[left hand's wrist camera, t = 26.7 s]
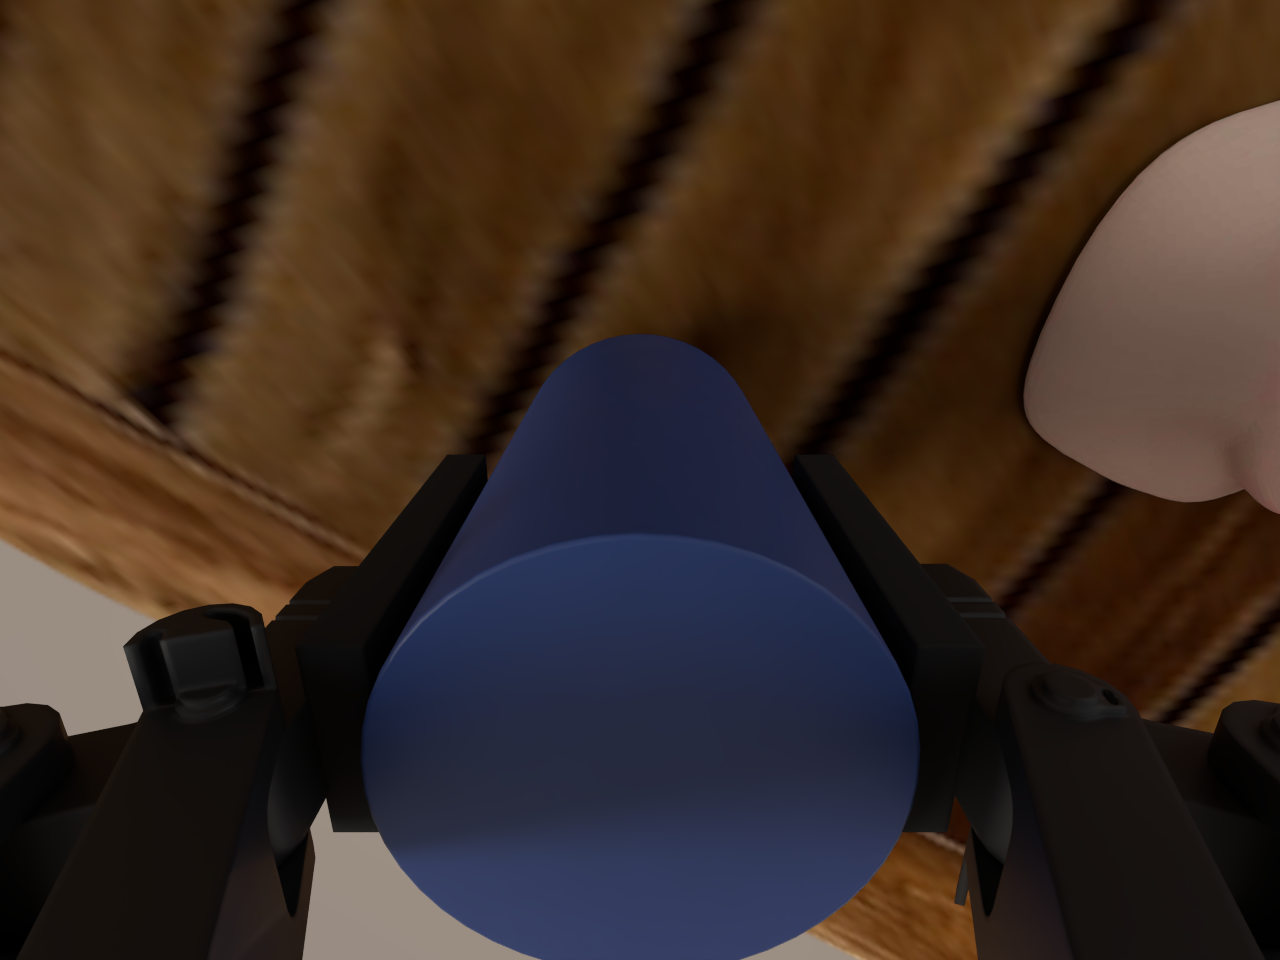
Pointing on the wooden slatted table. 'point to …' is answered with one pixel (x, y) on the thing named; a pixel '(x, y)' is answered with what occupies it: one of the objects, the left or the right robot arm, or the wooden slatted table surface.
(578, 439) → the canister
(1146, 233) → the anatomical model
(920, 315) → the wooden slatted table surface
